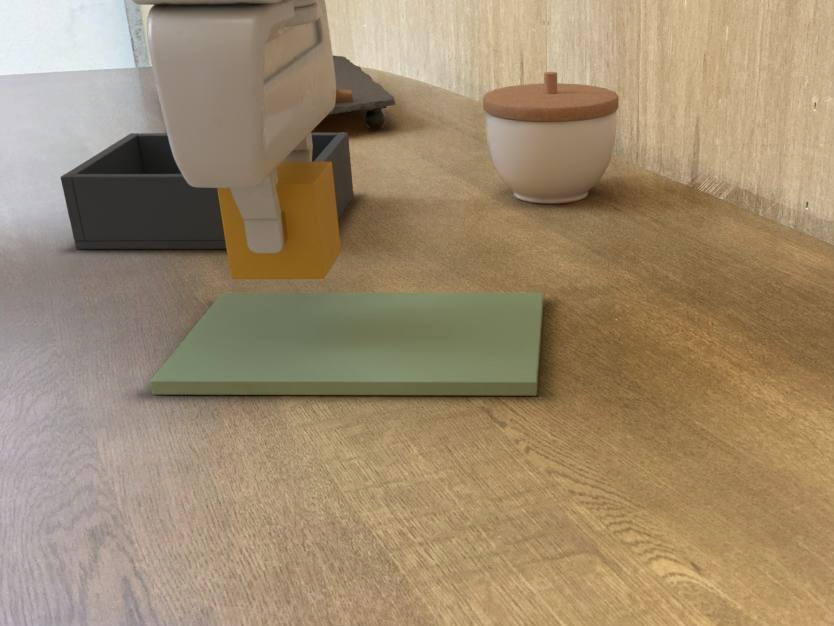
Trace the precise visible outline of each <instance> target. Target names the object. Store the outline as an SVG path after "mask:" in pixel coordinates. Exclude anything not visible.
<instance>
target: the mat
mask: <svg viewBox="0 0 834 626" xmlns="http://www.w3.org/2000/svg"><path fill="white" fill-rule="evenodd" d="M543 310H544V292H287V291H286V292H284V291H283V292H278V291H277V292H264V291H263V292H257V291H256V292H251V291H249V292H243V291H242V292H240V291H239V292H231V291H230V292H224V291H223V292H221V293H220V294H219V296H217V298H216V299H215V300H214V302H213V303H212V304H211V305H210V306H209V308H208V309H207V310H206V311H205V313H204V314H203V315H202V316H201V318H200V319H198V322H197V323H195V325H194V326H193V327H192V329H191V330H190V331H189V332H188V334H186V336H185V337H184V339H182V340H181V342H180V343H179V345H178V346H177V347H176V348H175V350H174V351H173V352H172V353H171V355H170V356H169V357H168V358H167V360H165V362H164V363H163V364H162V365H161V367H160V368H159V369H158V371H157V372H156V373H155V374H154V375H153V377H152V378H151V379H150V381H149V382H150V388H151V393H152V395H154V396H155V395H164V396H165V395H167V396H169V395H171V396H172V395H173V396H175V395H179V396H180V395H183V396H184V395H185V396H186V395H191V396H192V395H193V396H194V395H195V396H196V395H197V396H198V395H200V396H201V395H202V396H203V395H204V396H205V395H207V396H210V395H211V396H214V395H215V396H216V395H217V396H229V395H231V396H238V395H239V396H252V395H253V396H507V397H508V396H513V397H515V396H516V397H517V396H526V397H529V396H532V397H533V396H537V394H538V383H539V367H540V355H541V354H540V353H541V341H542V326H543V325H542V324H543V313H544V311H543Z"/></svg>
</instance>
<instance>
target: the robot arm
mask: <svg viewBox="0 0 834 626" xmlns="http://www.w3.org/2000/svg"><path fill="white" fill-rule="evenodd" d="M131 1H132V2H133V3H134V4H136V5H138V6H139V5H142V6H145V5H147V6H149V5H150V6H151V8H150V9H149V11H148V13H147V18H146V37H147V45H148V46H147V47H148V51H149V58H150V62H151V63H150V64H151V68H152V72H153V77H154V81H155V86H156V92H157V96H158V101H159V105H160V109H161V110H160V111H161V114H162V118H163V122H164V126H165V131H166V133H167V135H168V139H169V143H170V147H171V151H172V154H173V157H174V160H175V162H176V164H177V166H178V168H179V170H180V172H181V173H182V175H183V177H184V178H185V180H186V181H187V183H188V184H189V185H190V186H192V187H199V188H230V191H231V193H232V196H233V198H234V200H235V202H236V205H237V207H238V209H239V211H240V214H241V216H242V218H243V219H244V225H245V231H246V238H247V244H248V247H249V249H250V250H251V251H252V252H254V253H256V254H275V253H278V252H279V251H281V250H282V248H283V246H284V245H285V243H286V242H287V240H288V236H287V230H286V219H285V212H281V209H280V204H279V199H278V194H277V189H276V185H277V184H278V175H277V166H278V165H279V164H280V163H281V162H312V150H313V143H312V134H311V133H312V131H313V130H315V129H316V127H318V126H319V125H320V123H321V122H322V121H323V120H324V119H325V118H327V116H328V114H329V113H330V112H331V111H332V110H333V109H334V107H335V101H336V79H335V70H334V62H333V55H334V54H333V48H332V41H331V40H332V39H331V33H330V32H331V31H330V25H329V18H328V11H327V4H326V0H131ZM329 115H330V114H329Z"/></svg>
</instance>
